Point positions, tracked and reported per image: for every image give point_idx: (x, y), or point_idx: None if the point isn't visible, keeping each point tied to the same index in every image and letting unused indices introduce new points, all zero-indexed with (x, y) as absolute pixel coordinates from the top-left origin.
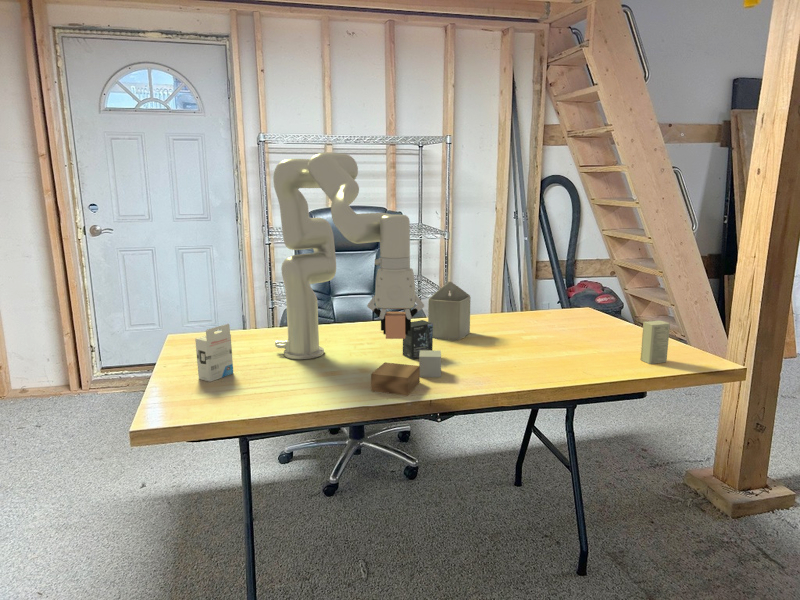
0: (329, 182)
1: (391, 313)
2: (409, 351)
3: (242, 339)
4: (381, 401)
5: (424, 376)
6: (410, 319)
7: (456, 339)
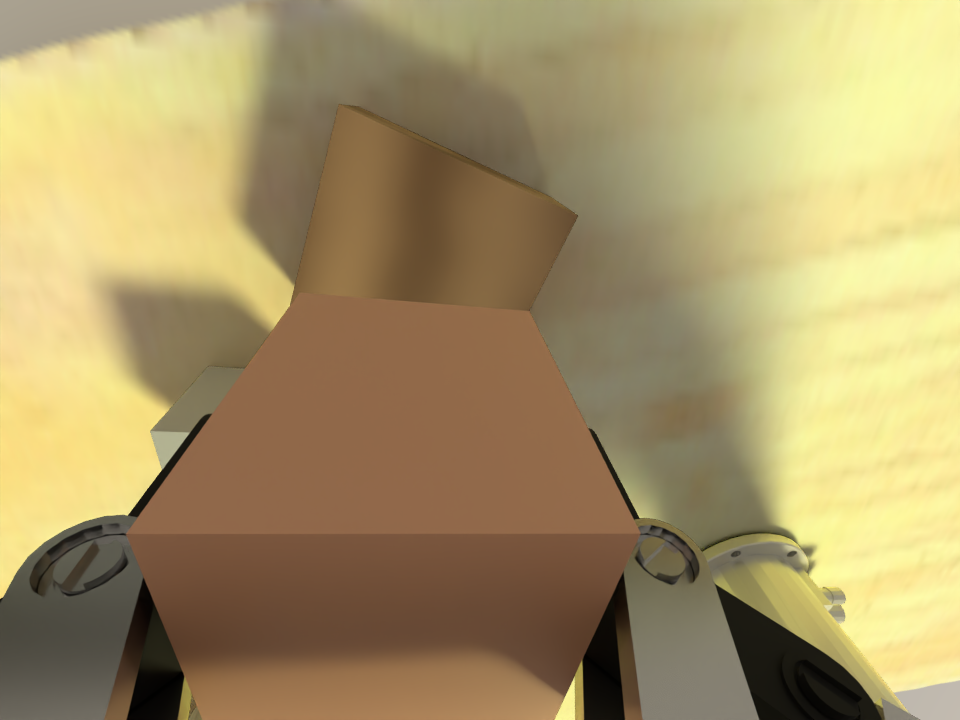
0: None
1: (482, 670)
2: None
3: (865, 656)
4: (510, 11)
5: None
6: (112, 536)
7: None
